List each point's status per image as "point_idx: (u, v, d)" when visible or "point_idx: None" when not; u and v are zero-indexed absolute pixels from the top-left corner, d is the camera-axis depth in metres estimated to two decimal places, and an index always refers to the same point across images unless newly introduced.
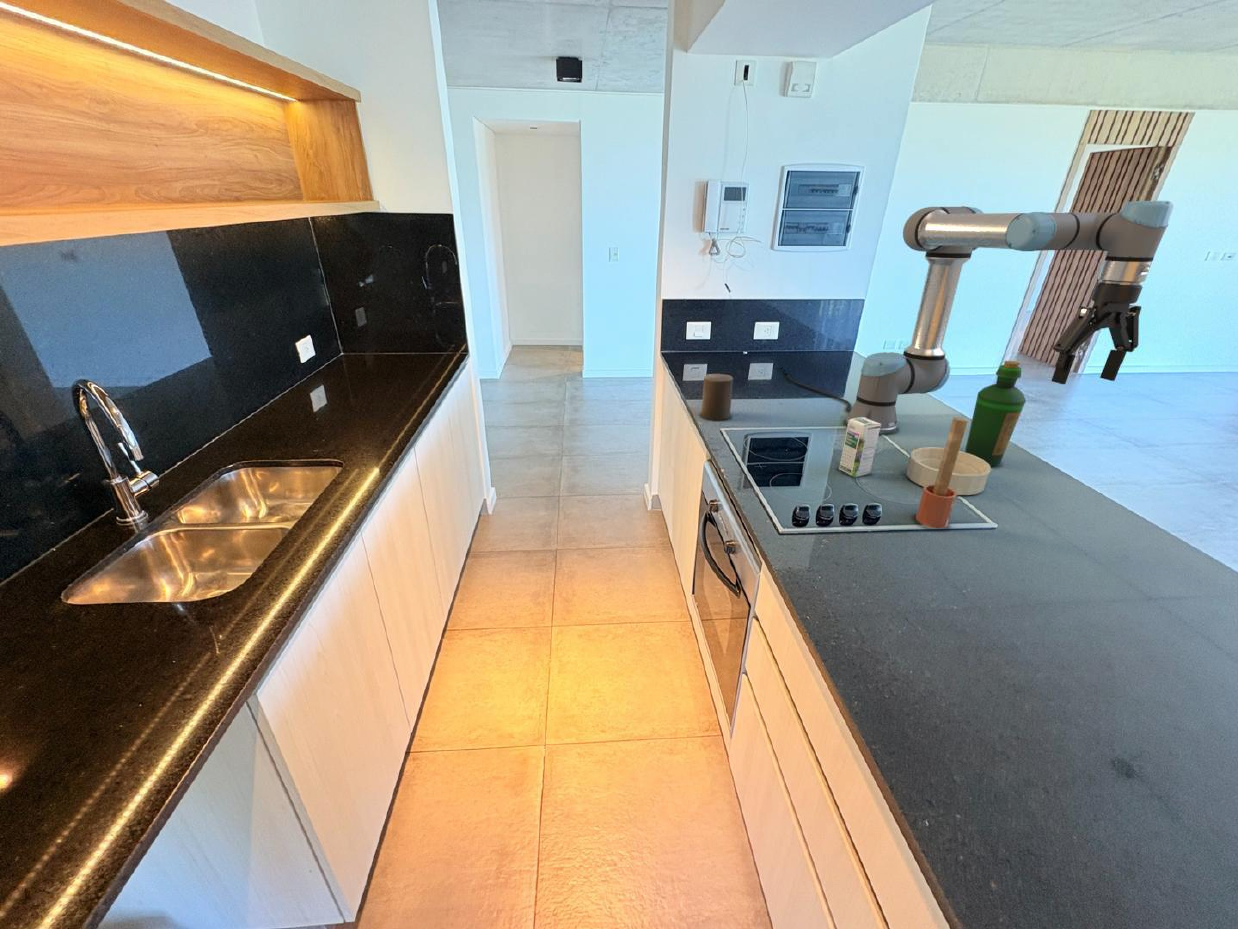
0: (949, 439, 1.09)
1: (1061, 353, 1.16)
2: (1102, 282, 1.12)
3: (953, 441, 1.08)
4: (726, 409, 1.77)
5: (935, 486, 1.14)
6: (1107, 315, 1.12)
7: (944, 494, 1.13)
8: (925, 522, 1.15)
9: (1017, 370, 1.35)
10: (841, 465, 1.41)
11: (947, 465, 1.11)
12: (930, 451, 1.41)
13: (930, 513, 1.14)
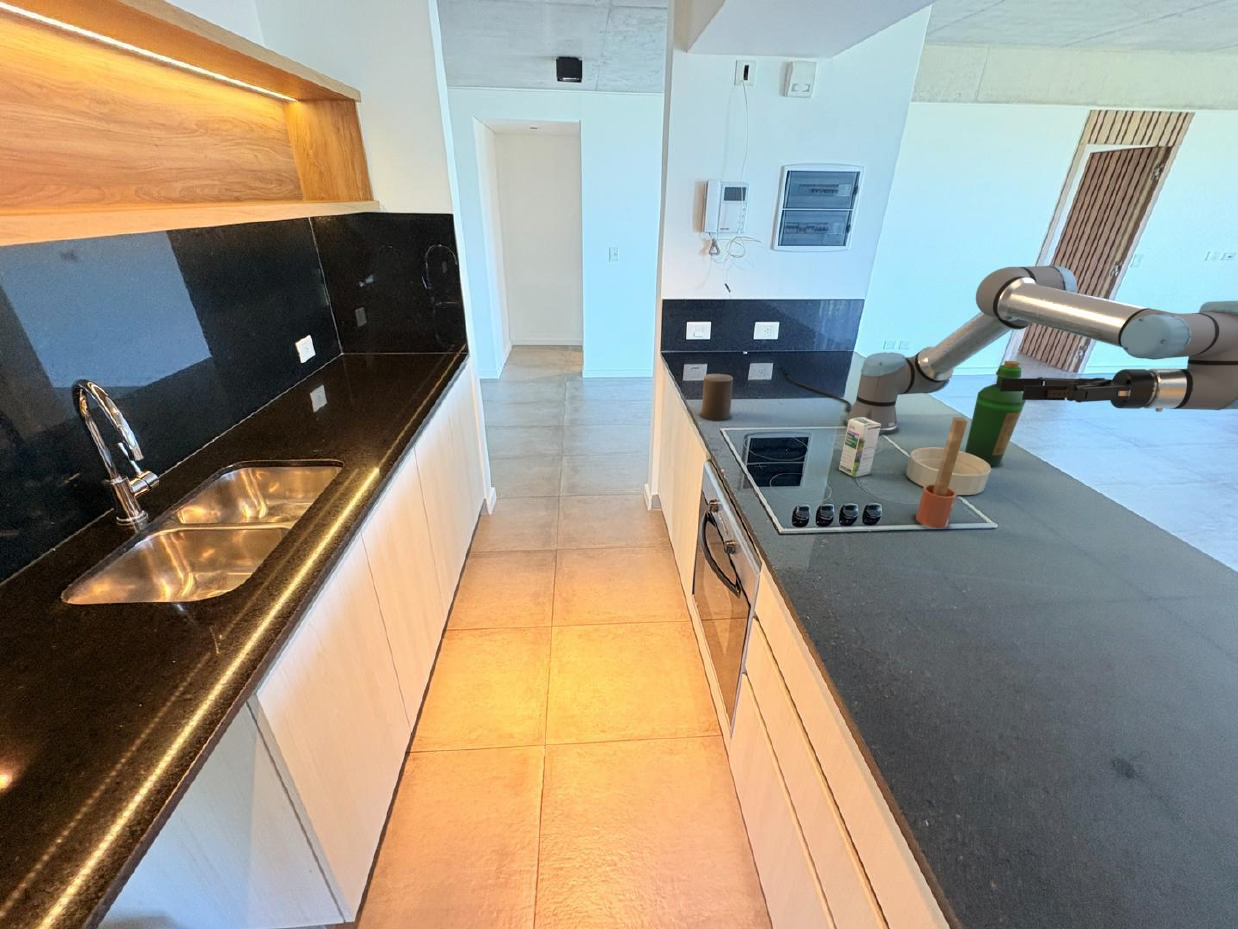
0: (949, 439, 1.09)
1: (1070, 393, 0.97)
2: (1154, 383, 0.97)
3: (953, 441, 1.08)
4: (726, 409, 1.77)
5: (935, 486, 1.14)
6: None
7: (944, 494, 1.13)
8: (925, 522, 1.15)
9: (1017, 370, 1.35)
10: (841, 465, 1.41)
11: (947, 465, 1.11)
12: (930, 451, 1.41)
13: (930, 513, 1.14)
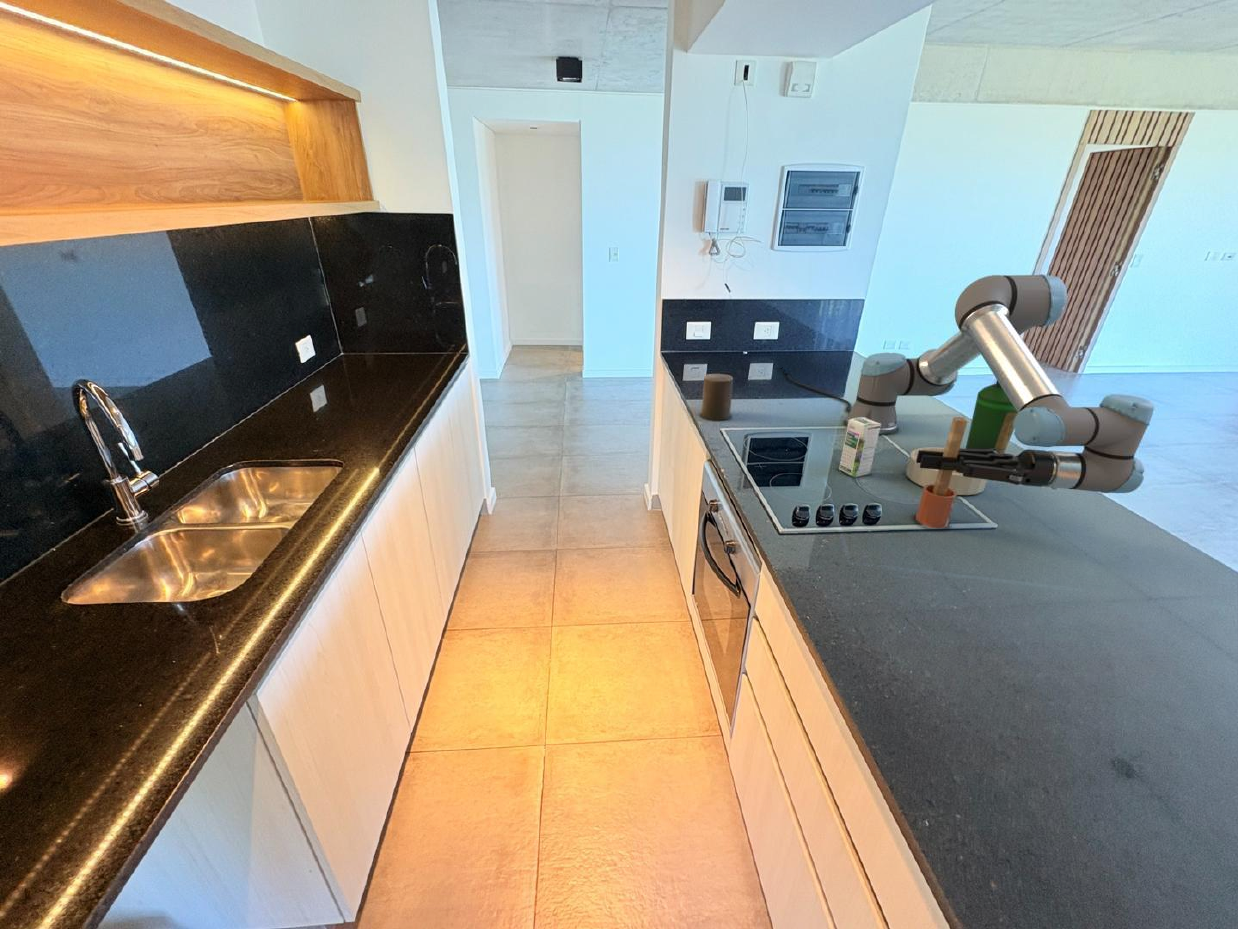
0: (949, 439, 1.09)
1: (959, 466, 1.08)
2: (1054, 468, 1.05)
3: (953, 441, 1.08)
4: (726, 409, 1.77)
5: (935, 486, 1.14)
6: None
7: (944, 494, 1.13)
8: (925, 522, 1.15)
9: None
10: (841, 465, 1.41)
11: None
12: None
13: (930, 513, 1.14)
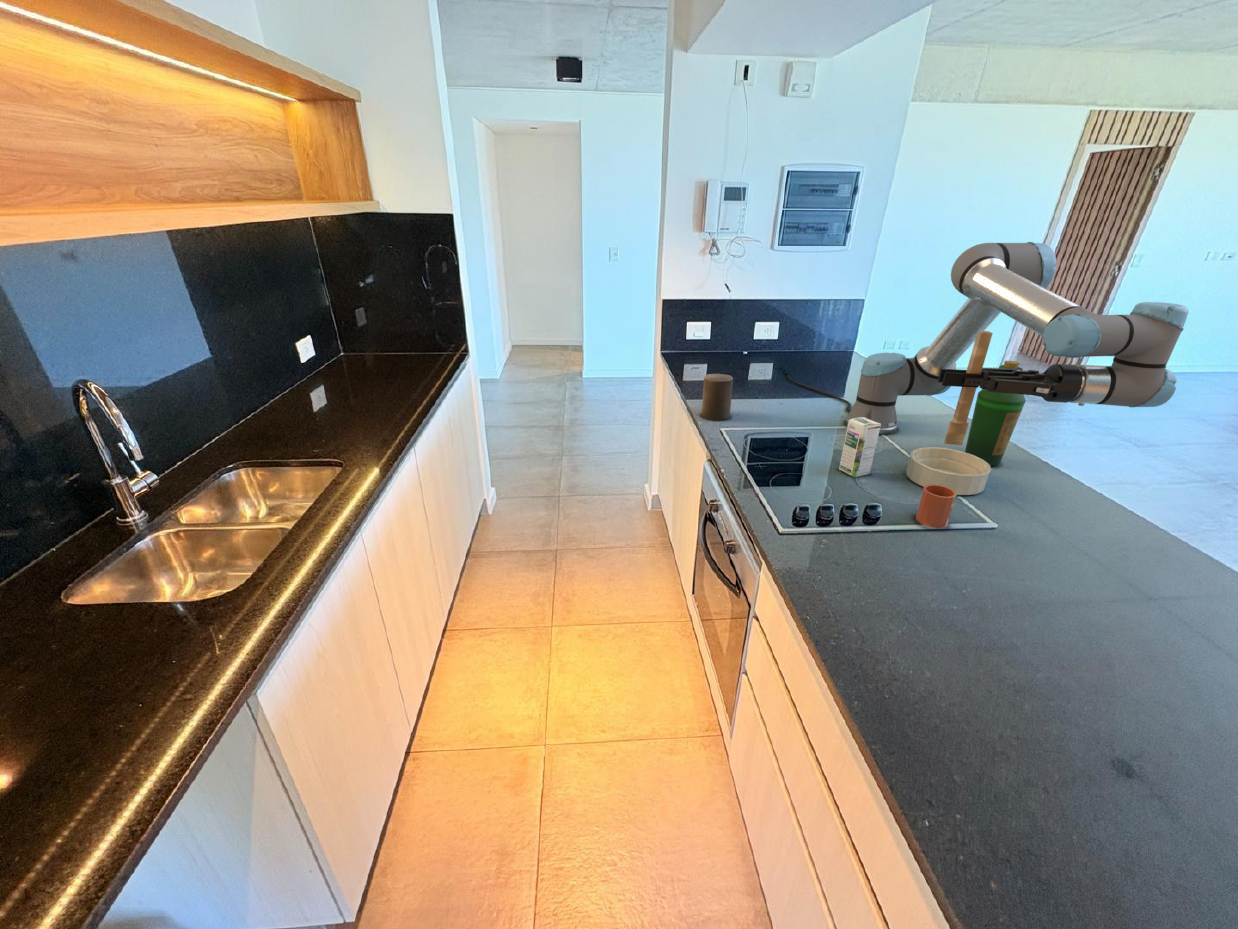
0: (972, 354, 1.06)
1: (983, 382, 1.05)
2: (1082, 381, 1.01)
3: (977, 355, 1.05)
4: (726, 409, 1.77)
5: (957, 406, 1.11)
6: None
7: (967, 414, 1.10)
8: (925, 522, 1.15)
9: None
10: (841, 465, 1.41)
11: None
12: (930, 451, 1.41)
13: (930, 513, 1.14)
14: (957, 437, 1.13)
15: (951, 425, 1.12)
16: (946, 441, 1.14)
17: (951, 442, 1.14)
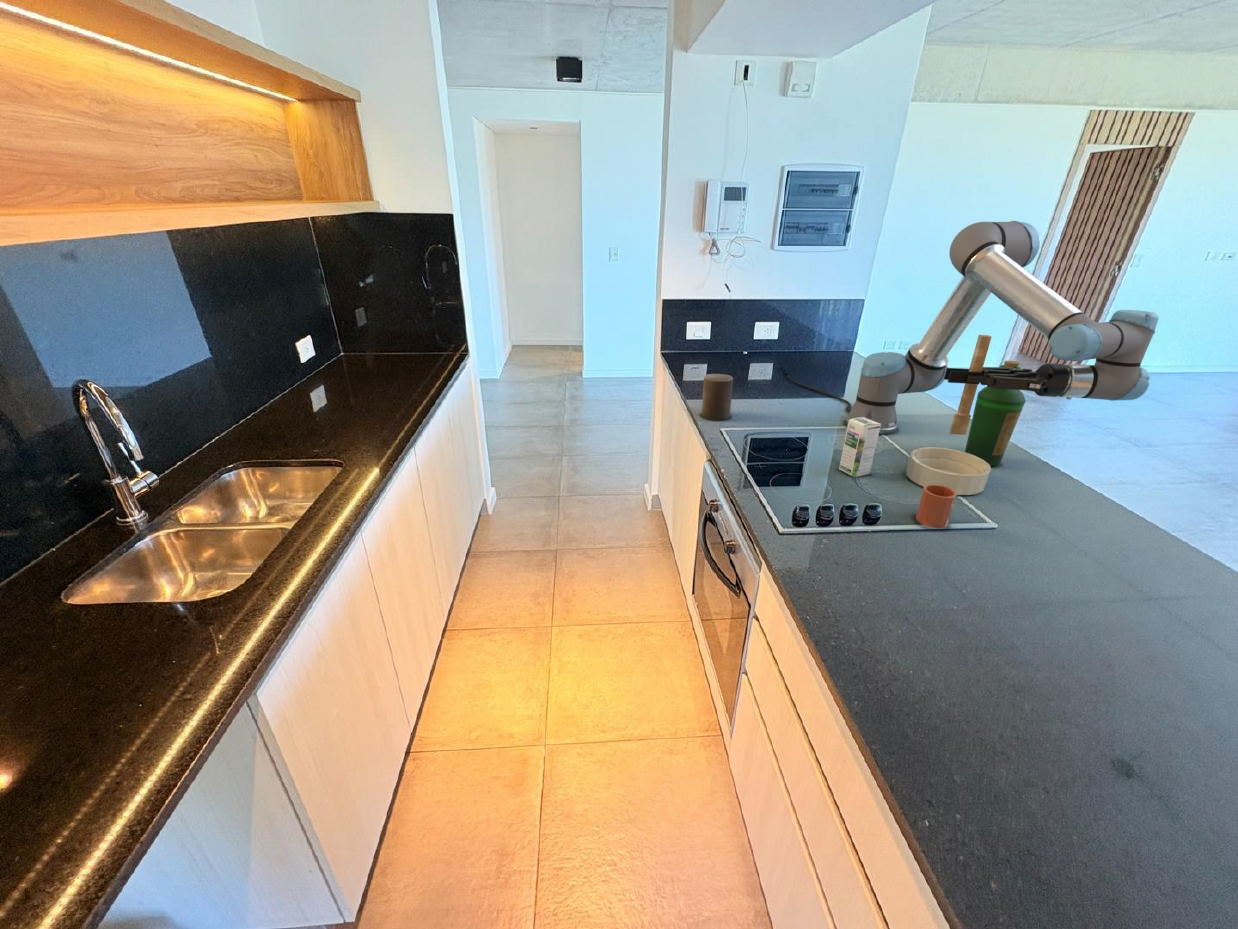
0: (974, 355, 1.22)
1: (983, 379, 1.21)
2: (1069, 378, 1.18)
3: (978, 356, 1.21)
4: (726, 409, 1.77)
5: (961, 400, 1.27)
6: None
7: (969, 407, 1.26)
8: (925, 522, 1.15)
9: None
10: (841, 465, 1.41)
11: None
12: (930, 451, 1.41)
13: (930, 513, 1.14)
14: (961, 428, 1.29)
15: (956, 417, 1.28)
16: (951, 431, 1.30)
17: (956, 432, 1.30)
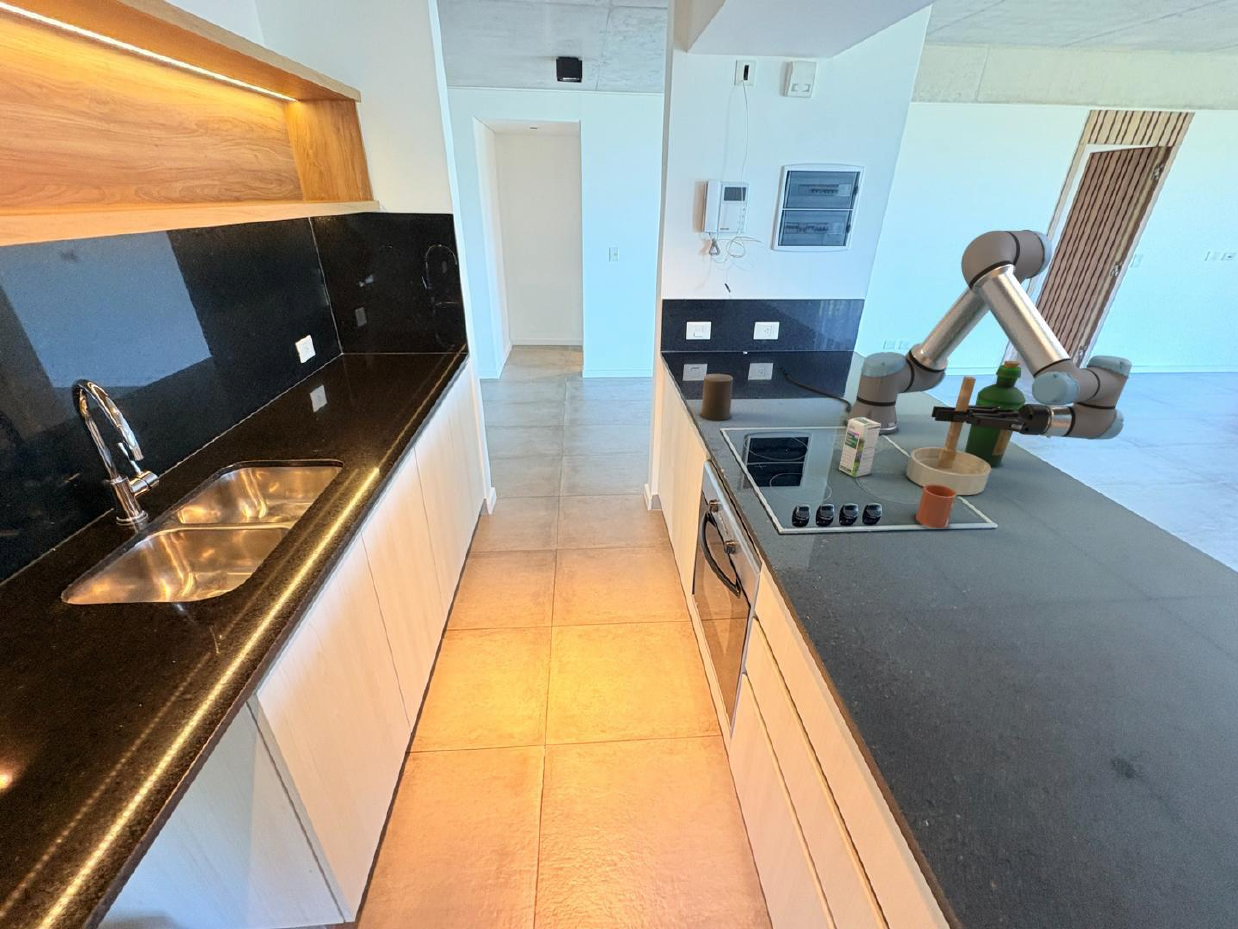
0: (960, 395, 1.29)
1: (968, 418, 1.28)
2: (1048, 418, 1.24)
3: (964, 397, 1.28)
4: (726, 409, 1.77)
5: (948, 437, 1.34)
6: None
7: (955, 443, 1.33)
8: (925, 522, 1.15)
9: (1017, 370, 1.35)
10: (841, 465, 1.41)
11: None
12: (930, 451, 1.41)
13: (930, 513, 1.14)
14: (948, 462, 1.36)
15: (942, 452, 1.35)
16: (938, 465, 1.37)
17: (943, 466, 1.36)
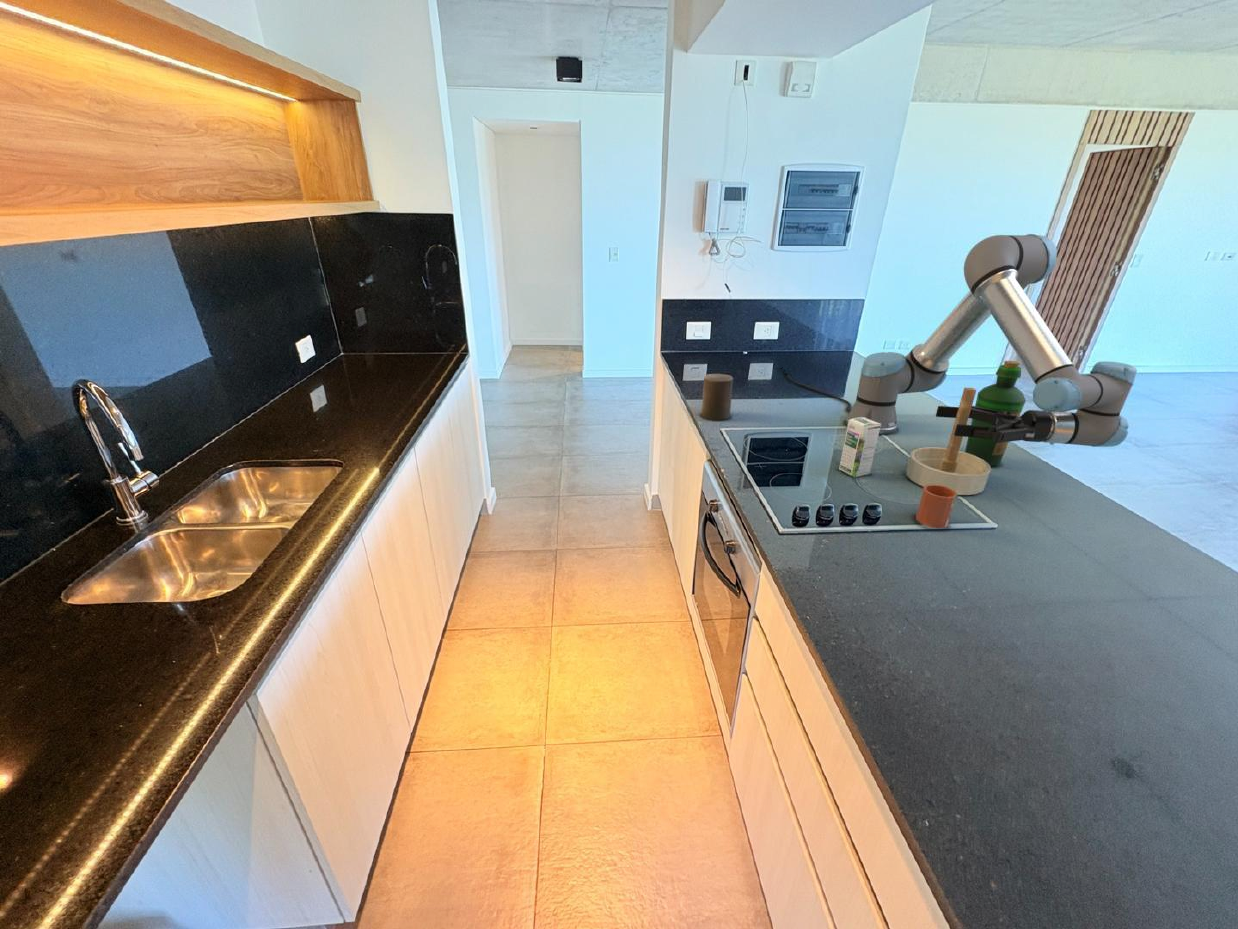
0: (960, 406, 1.28)
1: (990, 434, 1.21)
2: (1051, 425, 1.22)
3: (964, 408, 1.27)
4: (726, 409, 1.77)
5: (948, 448, 1.32)
6: None
7: (956, 455, 1.32)
8: (925, 522, 1.15)
9: (1017, 370, 1.35)
10: (841, 465, 1.41)
11: None
12: (930, 451, 1.41)
13: (930, 513, 1.14)
14: None
15: (943, 464, 1.34)
16: None
17: None
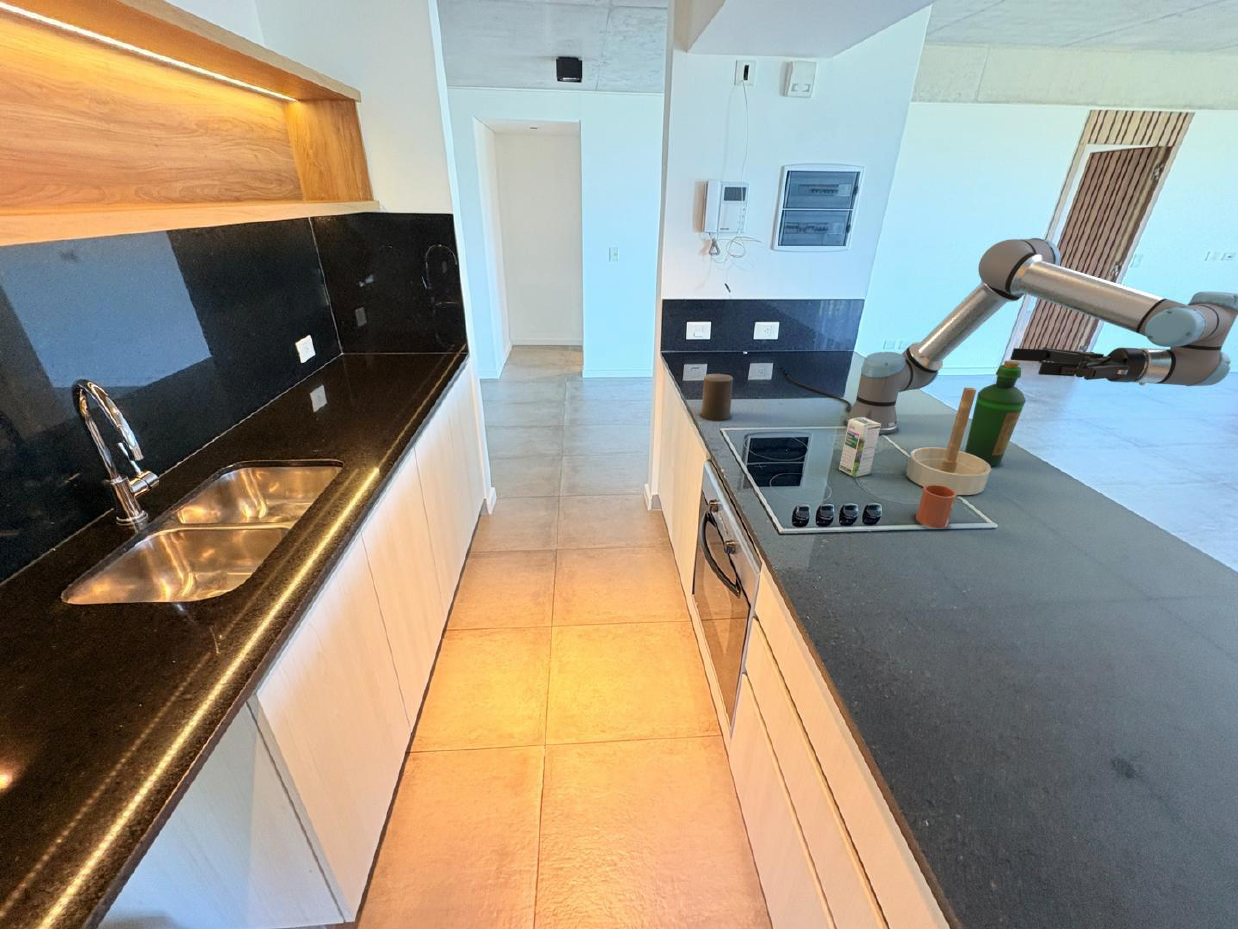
0: (960, 406, 1.28)
1: (1080, 370, 1.12)
2: (1145, 362, 1.13)
3: (964, 408, 1.27)
4: (726, 409, 1.77)
5: (948, 448, 1.32)
6: None
7: (956, 455, 1.32)
8: (925, 522, 1.15)
9: (1017, 370, 1.35)
10: (841, 465, 1.41)
11: (959, 429, 1.29)
12: (930, 451, 1.41)
13: (930, 513, 1.14)
14: None
15: (943, 464, 1.34)
16: None
17: None
